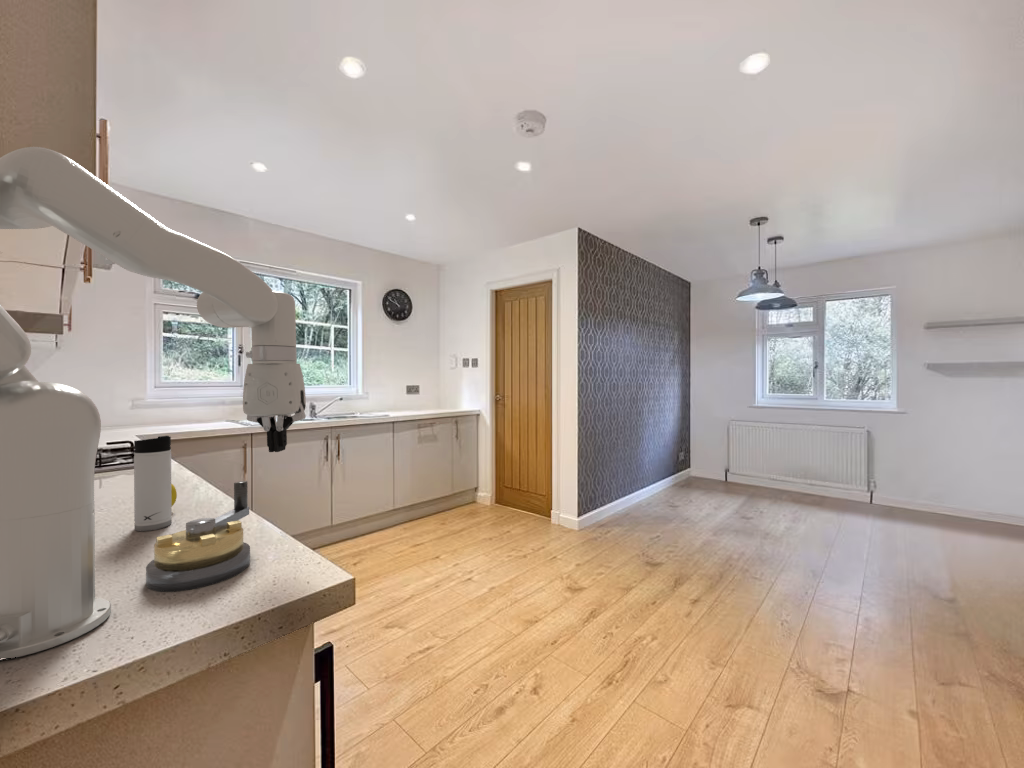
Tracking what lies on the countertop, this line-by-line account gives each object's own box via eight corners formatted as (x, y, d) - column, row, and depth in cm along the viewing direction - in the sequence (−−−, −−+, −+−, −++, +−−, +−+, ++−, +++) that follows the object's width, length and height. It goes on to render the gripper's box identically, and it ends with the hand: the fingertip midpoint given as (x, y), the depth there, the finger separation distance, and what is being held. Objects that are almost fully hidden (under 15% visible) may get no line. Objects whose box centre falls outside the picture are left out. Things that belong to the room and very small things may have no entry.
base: (215, 590, 65) (215, 574, 65) (121, 592, 64) (121, 575, 64) (266, 553, 79) (266, 540, 79) (189, 554, 78) (189, 541, 78)
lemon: (182, 510, 106) (182, 478, 106) (161, 517, 100) (161, 483, 100) (163, 509, 107) (163, 477, 107) (141, 516, 101) (140, 482, 101)
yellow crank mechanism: (213, 569, 66) (213, 508, 65) (133, 570, 65) (133, 508, 65) (275, 529, 84) (275, 480, 84) (213, 529, 83) (212, 481, 83)
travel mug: (151, 532, 90) (150, 438, 90) (126, 530, 91) (126, 437, 91) (180, 523, 96) (179, 434, 96) (156, 521, 97) (155, 433, 97)
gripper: (223, 356, 79) (225, 455, 79) (305, 355, 79) (307, 453, 79) (247, 357, 86) (249, 448, 86) (321, 357, 86) (324, 447, 87)
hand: (277, 450), depth 83 cm, fingers closed
